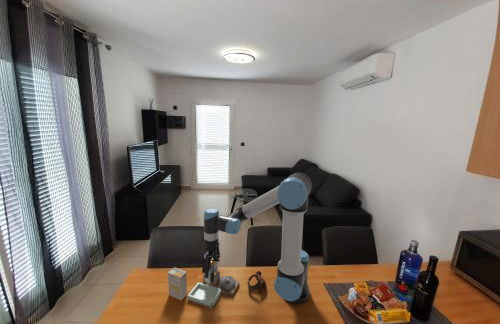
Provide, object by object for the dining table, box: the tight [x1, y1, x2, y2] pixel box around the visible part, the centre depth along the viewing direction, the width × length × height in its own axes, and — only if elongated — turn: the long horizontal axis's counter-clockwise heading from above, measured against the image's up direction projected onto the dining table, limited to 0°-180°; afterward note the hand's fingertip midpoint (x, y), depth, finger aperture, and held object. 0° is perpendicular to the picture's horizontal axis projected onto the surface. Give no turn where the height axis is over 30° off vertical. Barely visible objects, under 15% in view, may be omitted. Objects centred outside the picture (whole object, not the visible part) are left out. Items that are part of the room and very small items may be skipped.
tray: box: [187, 282, 222, 309], centre depth 106 cm, size 14×10×2 cm
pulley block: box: [202, 270, 240, 297], centre depth 114 cm, size 18×9×6 cm, turn 71°
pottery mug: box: [247, 270, 268, 292], centre depth 114 cm, size 12×10×8 cm
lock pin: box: [209, 259, 215, 282], centre depth 115 cm, size 4×4×11 cm
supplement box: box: [167, 267, 188, 302], centre depth 106 cm, size 8×5×13 cm, turn 65°
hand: (211, 276), depth 115 cm, fingers open, 8 cm apart
